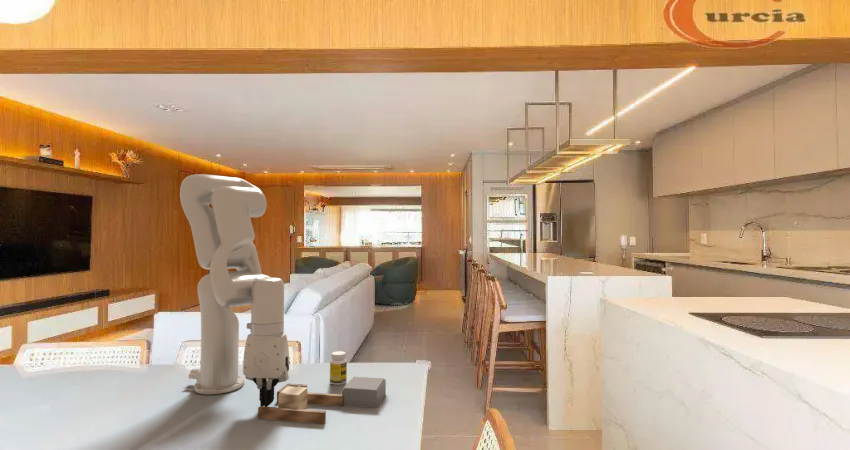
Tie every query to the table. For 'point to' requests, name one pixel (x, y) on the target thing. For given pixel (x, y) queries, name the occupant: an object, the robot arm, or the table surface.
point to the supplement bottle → (338, 368)
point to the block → (293, 398)
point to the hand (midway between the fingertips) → (266, 404)
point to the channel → (302, 414)
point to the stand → (364, 392)
